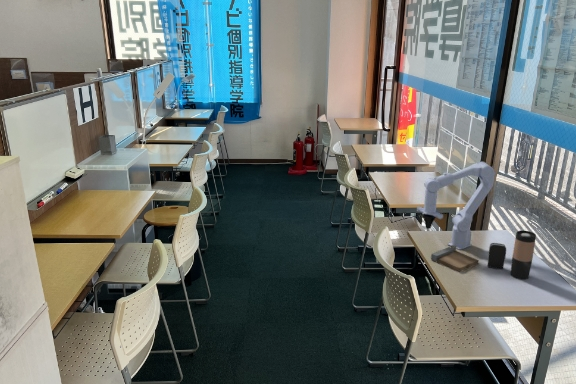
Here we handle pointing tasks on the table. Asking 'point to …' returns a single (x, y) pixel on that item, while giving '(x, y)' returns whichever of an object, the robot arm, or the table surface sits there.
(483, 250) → the table surface
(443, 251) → the gray rectangular bar
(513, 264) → the travel mug
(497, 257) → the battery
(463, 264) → the stool seat
